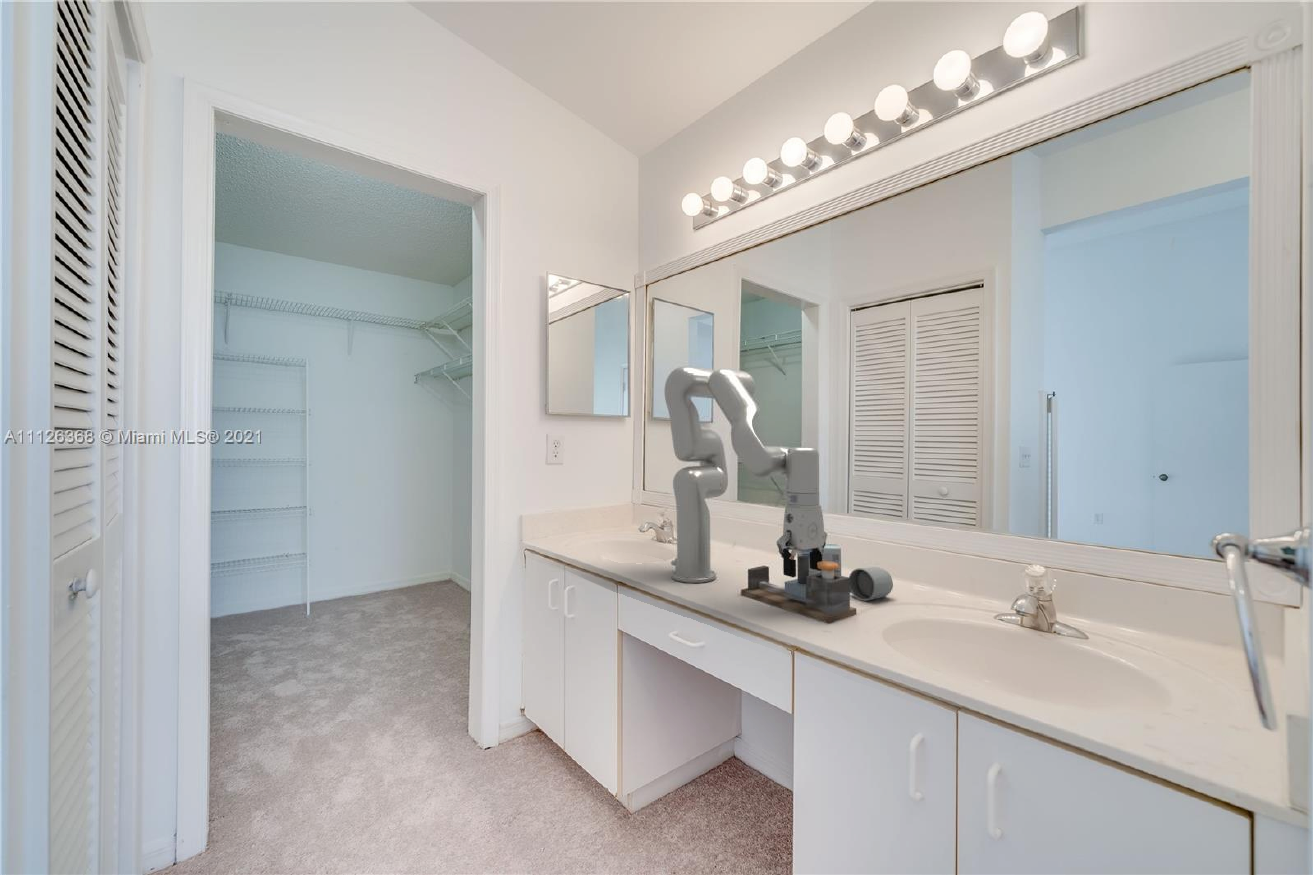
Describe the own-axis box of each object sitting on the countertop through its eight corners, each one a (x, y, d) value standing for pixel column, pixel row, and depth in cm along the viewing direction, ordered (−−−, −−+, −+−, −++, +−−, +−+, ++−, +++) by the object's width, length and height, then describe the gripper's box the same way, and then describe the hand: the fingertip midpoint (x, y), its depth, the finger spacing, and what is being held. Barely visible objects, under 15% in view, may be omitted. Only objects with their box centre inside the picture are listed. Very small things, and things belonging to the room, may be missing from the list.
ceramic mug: (895, 599, 124) (895, 567, 124) (874, 604, 120) (874, 572, 120) (858, 589, 133) (857, 559, 133) (837, 594, 129) (837, 563, 129)
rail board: (741, 594, 128) (740, 561, 128) (767, 587, 134) (767, 556, 134) (829, 623, 108) (829, 584, 108) (856, 613, 114) (856, 577, 114)
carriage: (784, 597, 120) (784, 556, 120) (801, 592, 123) (800, 553, 123) (805, 603, 115) (805, 561, 115) (822, 598, 118) (821, 557, 119)
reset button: (813, 585, 114) (813, 563, 114) (825, 582, 117) (825, 560, 117) (830, 590, 111) (830, 567, 111) (842, 586, 113) (842, 564, 113)
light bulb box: (836, 582, 140) (835, 542, 140) (842, 589, 133) (842, 547, 133) (796, 581, 141) (796, 542, 141) (800, 588, 134) (800, 547, 134)
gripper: (791, 504, 111) (792, 582, 111) (838, 498, 121) (839, 570, 121) (765, 501, 117) (765, 575, 117) (812, 496, 127) (812, 564, 127)
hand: (803, 572), depth 119 cm, fingers open, 9 cm apart
